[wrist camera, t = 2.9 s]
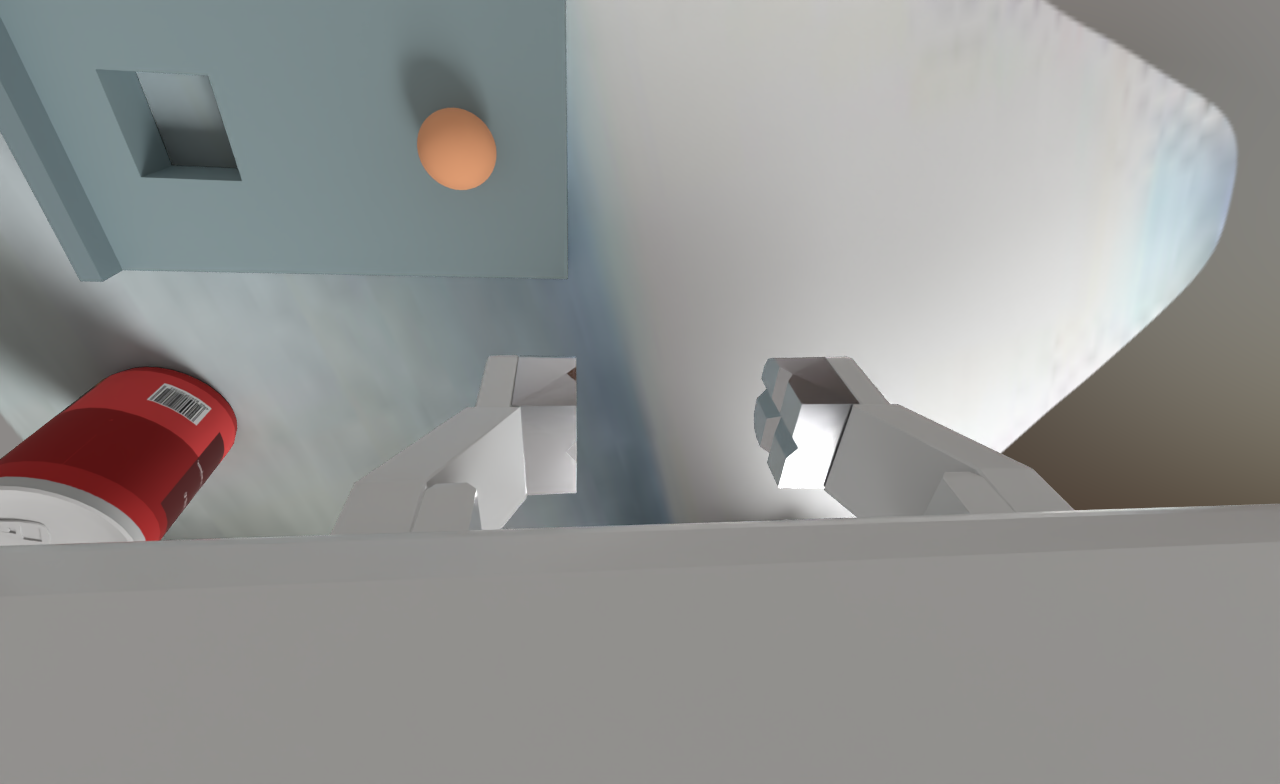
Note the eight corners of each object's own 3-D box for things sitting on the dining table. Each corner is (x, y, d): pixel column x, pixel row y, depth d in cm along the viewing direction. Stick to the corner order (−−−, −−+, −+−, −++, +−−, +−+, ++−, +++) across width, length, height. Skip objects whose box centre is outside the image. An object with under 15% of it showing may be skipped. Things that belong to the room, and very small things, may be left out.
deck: (565, -24, 26) (564, -30, 23) (567, 262, 34) (567, 289, 30) (-19, -75, 23) (-118, -89, 20) (132, 252, 31) (80, 281, 27)
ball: (497, 105, 26) (488, 116, 23) (502, 181, 28) (495, 200, 25) (420, 100, 26) (402, 111, 23) (431, 178, 28) (415, 197, 25)
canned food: (81, 358, 34) (-97, 483, 25) (225, 367, 35) (106, 488, 26) (126, 453, 38) (-11, 590, 29) (254, 458, 39) (160, 590, 30)
